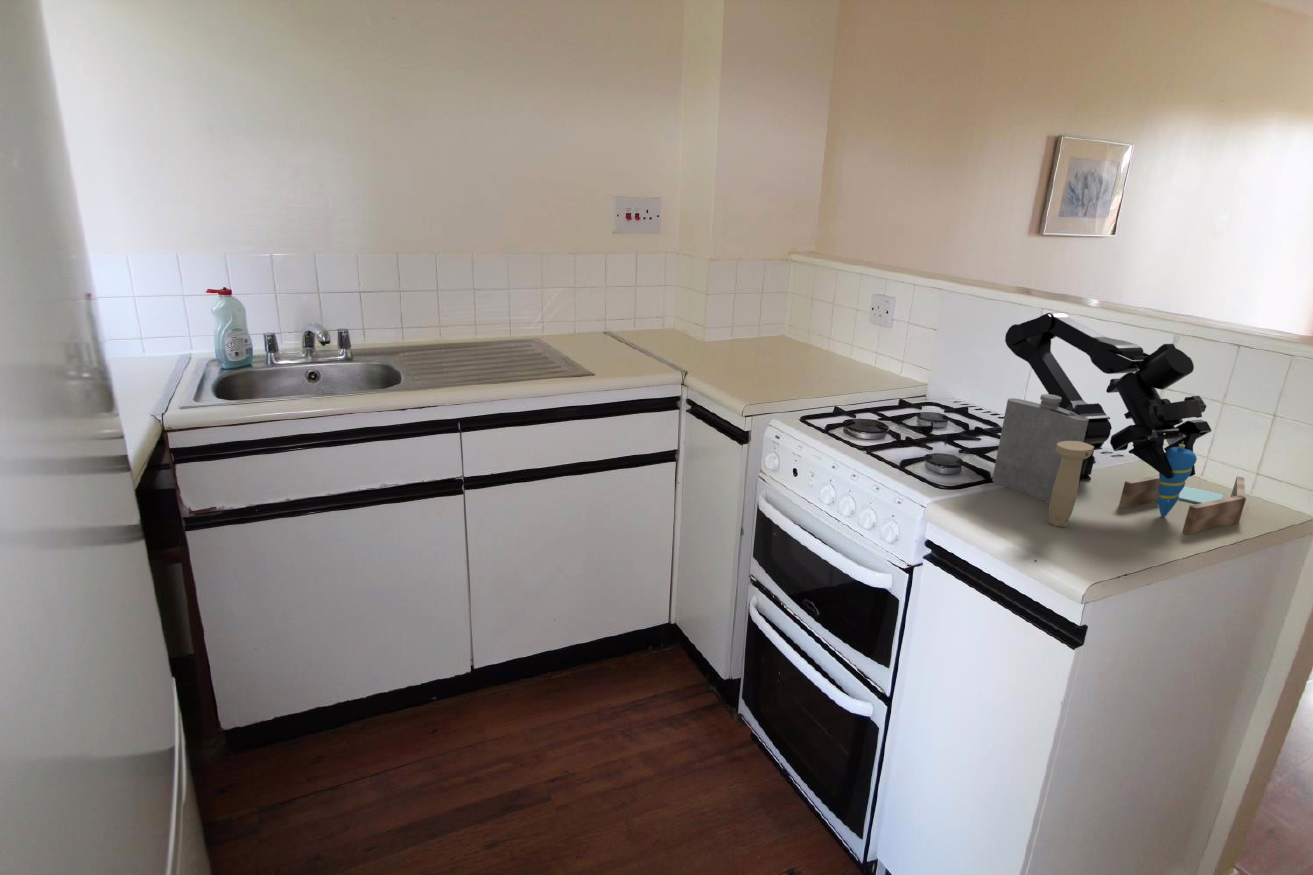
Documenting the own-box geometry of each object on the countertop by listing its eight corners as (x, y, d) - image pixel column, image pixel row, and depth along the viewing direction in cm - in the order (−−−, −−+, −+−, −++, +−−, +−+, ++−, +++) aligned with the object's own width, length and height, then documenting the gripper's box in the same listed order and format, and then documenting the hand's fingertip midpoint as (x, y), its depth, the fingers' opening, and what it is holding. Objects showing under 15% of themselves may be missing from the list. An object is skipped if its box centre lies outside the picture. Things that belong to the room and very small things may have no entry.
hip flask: (988, 481, 156) (1006, 387, 150) (1000, 477, 158) (1019, 385, 152) (1062, 509, 144) (1085, 407, 137) (1074, 505, 146) (1098, 405, 139)
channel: (1146, 530, 136) (1153, 504, 134) (1089, 478, 160) (1094, 456, 158) (1301, 543, 133) (1310, 517, 131) (1219, 489, 157) (1226, 466, 155)
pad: (1221, 508, 147) (1222, 507, 146) (1170, 497, 151) (1170, 495, 151) (1221, 496, 153) (1222, 494, 153) (1172, 485, 158) (1173, 483, 158)
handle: (1081, 526, 136) (1100, 447, 131) (1057, 532, 133) (1075, 452, 129) (1057, 516, 140) (1075, 439, 135) (1033, 521, 138) (1050, 443, 133)
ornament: (1181, 517, 142) (1203, 441, 137) (1176, 525, 138) (1198, 447, 134) (1150, 508, 145) (1170, 434, 140) (1143, 516, 142) (1164, 440, 137)
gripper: (1139, 382, 134) (1181, 462, 128) (1215, 378, 140) (1259, 454, 134) (1092, 412, 144) (1129, 487, 138) (1165, 407, 150) (1204, 479, 143)
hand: (1181, 476), depth 138 cm, fingers closed on ornament, 5 cm apart
